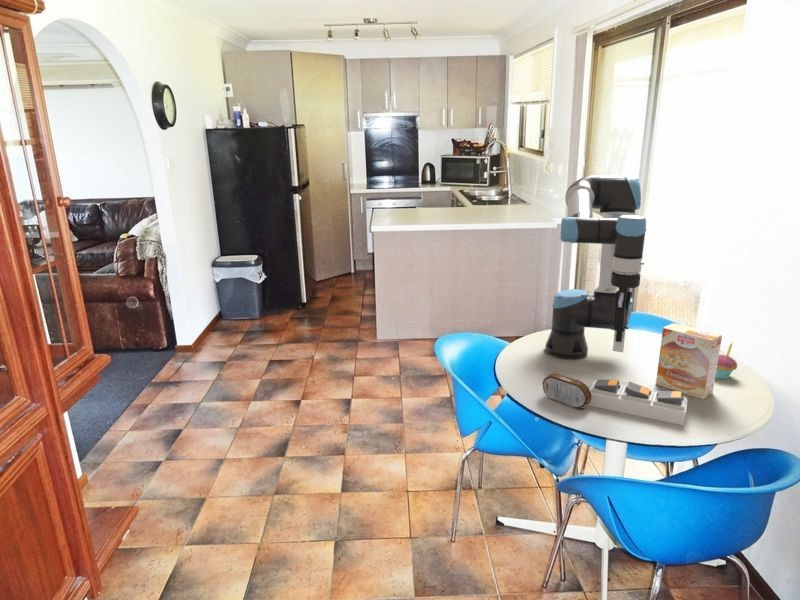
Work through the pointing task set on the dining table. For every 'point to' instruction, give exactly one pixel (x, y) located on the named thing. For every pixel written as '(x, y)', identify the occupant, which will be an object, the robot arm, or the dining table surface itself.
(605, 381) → the rocker left
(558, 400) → the tin
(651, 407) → the rocker switch box
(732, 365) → the cupcake
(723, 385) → the dining table surface
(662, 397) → the rocker right
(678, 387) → the coffeecake box
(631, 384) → the rocker middle
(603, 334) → the dining table surface
